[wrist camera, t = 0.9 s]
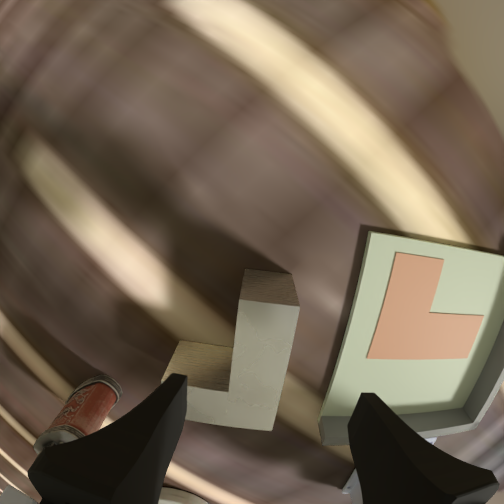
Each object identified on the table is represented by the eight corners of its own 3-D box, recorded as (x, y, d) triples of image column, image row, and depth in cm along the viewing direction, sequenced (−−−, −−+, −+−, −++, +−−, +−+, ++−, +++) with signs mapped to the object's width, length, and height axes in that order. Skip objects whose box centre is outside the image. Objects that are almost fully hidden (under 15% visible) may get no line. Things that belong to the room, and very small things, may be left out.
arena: (462, 410, 23) (475, 428, 20) (317, 419, 23) (322, 445, 20) (523, 260, 19) (546, 270, 16) (368, 230, 19) (385, 241, 16)
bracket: (271, 384, 22) (271, 431, 18) (179, 372, 22) (163, 414, 18) (291, 274, 20) (300, 306, 15) (183, 260, 20) (160, 287, 15)
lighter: (86, 420, 25) (44, 489, 15) (62, 397, 24) (13, 462, 15) (130, 394, 23) (85, 480, 14) (102, 367, 23) (44, 447, 13)
